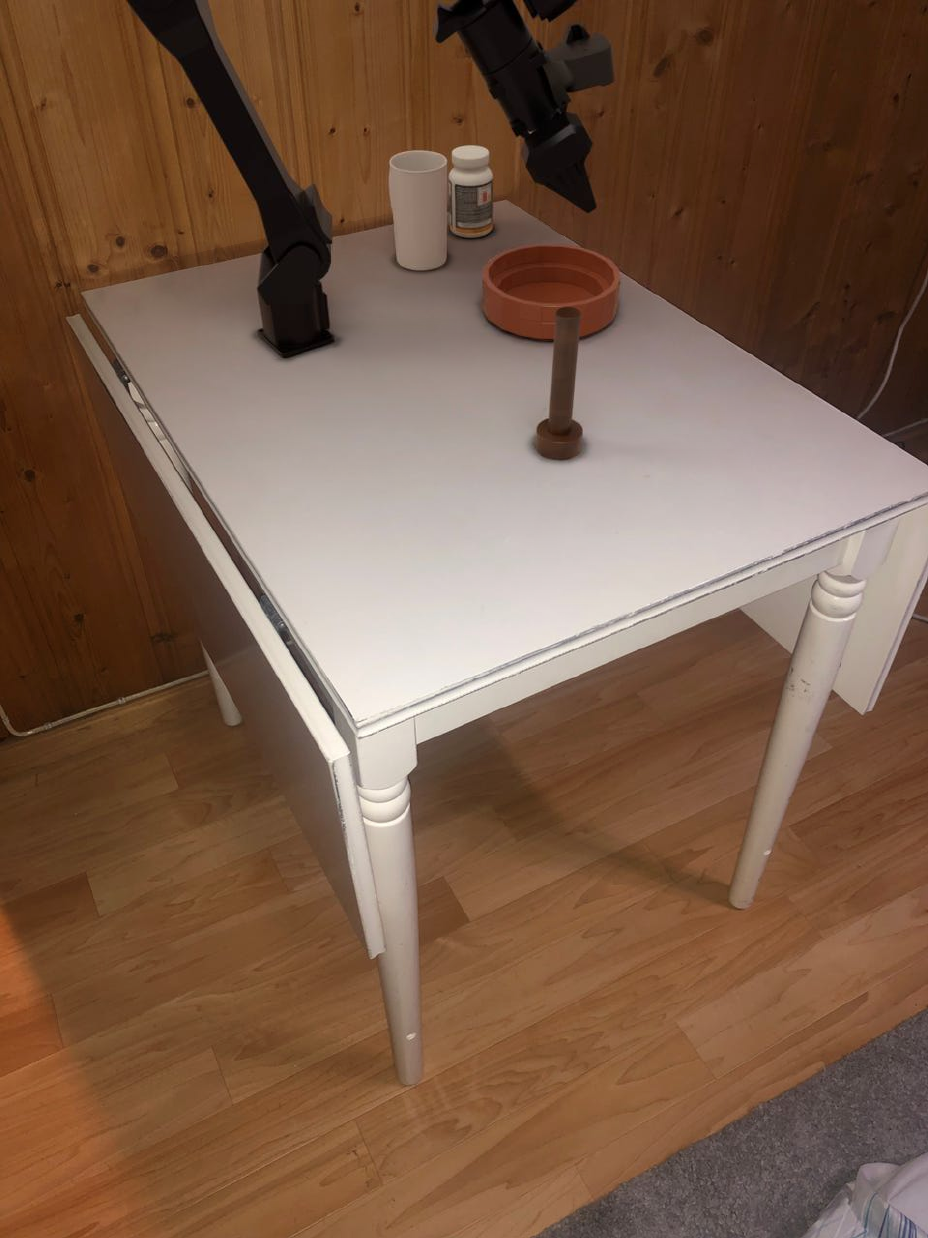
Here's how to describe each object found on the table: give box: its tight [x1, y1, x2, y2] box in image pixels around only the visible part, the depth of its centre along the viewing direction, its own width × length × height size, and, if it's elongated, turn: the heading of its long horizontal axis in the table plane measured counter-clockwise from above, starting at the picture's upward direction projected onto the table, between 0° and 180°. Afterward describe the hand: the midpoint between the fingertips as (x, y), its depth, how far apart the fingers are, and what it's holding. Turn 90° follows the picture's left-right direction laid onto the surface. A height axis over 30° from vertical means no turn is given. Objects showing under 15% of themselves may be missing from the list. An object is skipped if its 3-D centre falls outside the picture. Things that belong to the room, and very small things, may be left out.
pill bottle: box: [448, 144, 494, 239], centre depth 129 cm, size 6×6×10 cm
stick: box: [535, 307, 584, 461], centre depth 93 cm, size 4×4×14 cm
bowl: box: [481, 243, 622, 340], centre depth 116 cm, size 15×15×4 cm
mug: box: [388, 150, 448, 272], centre depth 123 cm, size 10×7×12 cm, turn 34°
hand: (584, 191), depth 105 cm, fingers open, 9 cm apart
